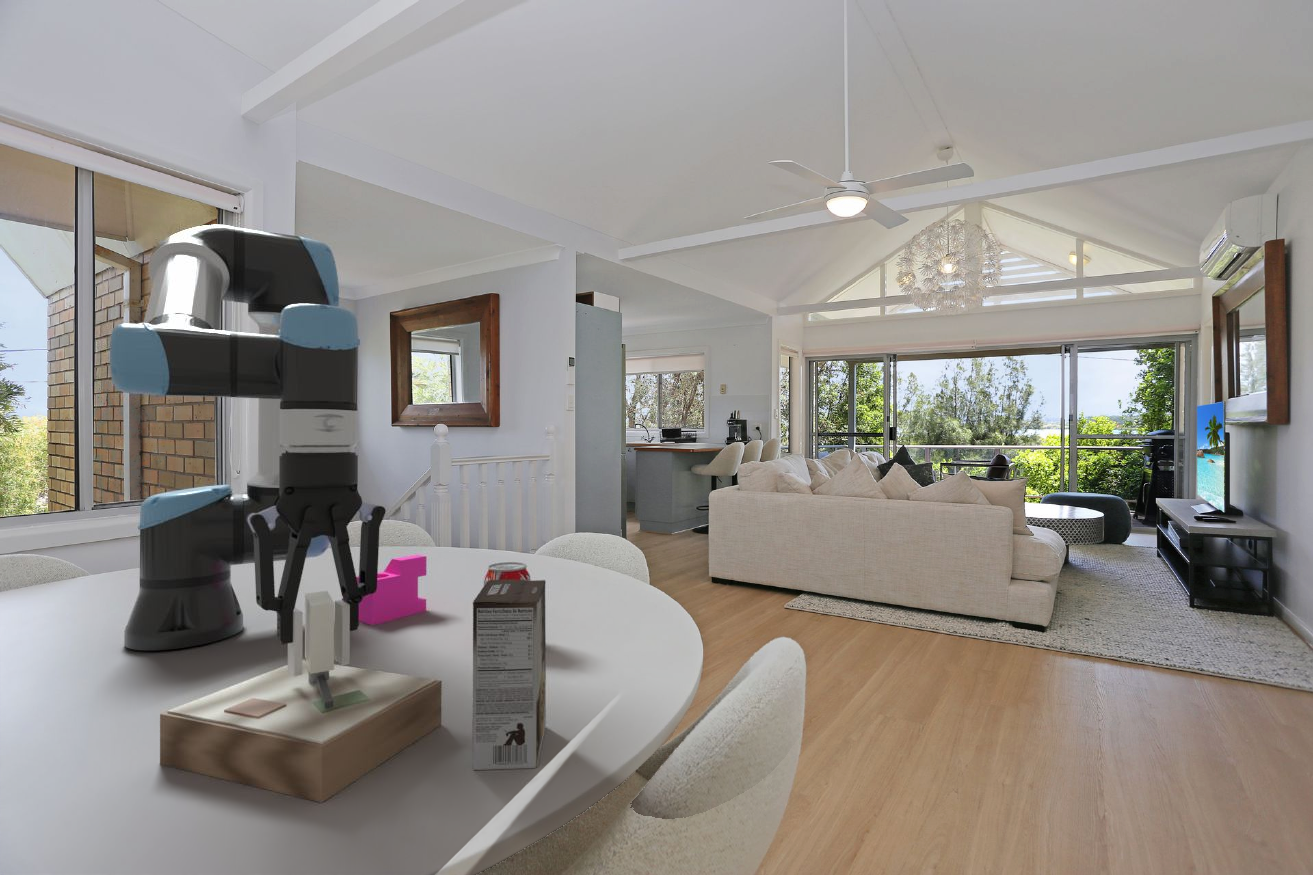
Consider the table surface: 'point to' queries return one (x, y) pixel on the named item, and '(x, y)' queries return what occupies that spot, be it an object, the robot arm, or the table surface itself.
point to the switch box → (300, 729)
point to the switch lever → (319, 641)
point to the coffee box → (509, 674)
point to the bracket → (395, 591)
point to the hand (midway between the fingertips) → (318, 666)
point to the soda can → (507, 572)
